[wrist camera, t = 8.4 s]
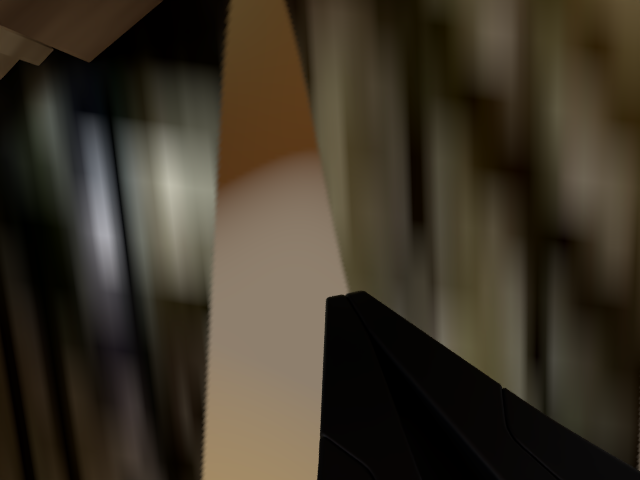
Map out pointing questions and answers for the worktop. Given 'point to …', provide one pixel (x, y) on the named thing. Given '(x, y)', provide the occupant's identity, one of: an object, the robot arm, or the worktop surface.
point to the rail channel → (20, 50)
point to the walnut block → (74, 22)
